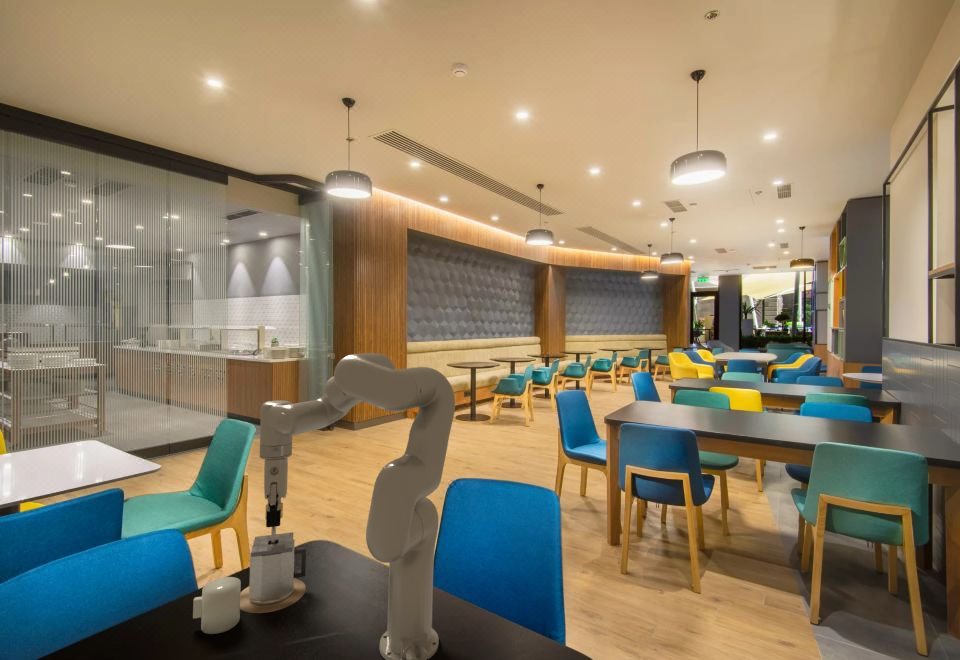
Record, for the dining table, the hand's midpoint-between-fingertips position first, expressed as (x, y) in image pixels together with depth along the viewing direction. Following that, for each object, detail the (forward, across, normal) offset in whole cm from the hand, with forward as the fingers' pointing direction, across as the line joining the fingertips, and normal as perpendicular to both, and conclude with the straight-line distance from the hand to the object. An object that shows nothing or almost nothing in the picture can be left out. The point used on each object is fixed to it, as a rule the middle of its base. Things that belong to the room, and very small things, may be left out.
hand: (273, 521), depth 116 cm
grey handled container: (+18, 0, -1) cm, 18 cm away
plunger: (+13, 0, 0) cm, 13 cm away
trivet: (+19, 0, 0) cm, 19 cm away
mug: (+19, -9, +10) cm, 23 cm away
